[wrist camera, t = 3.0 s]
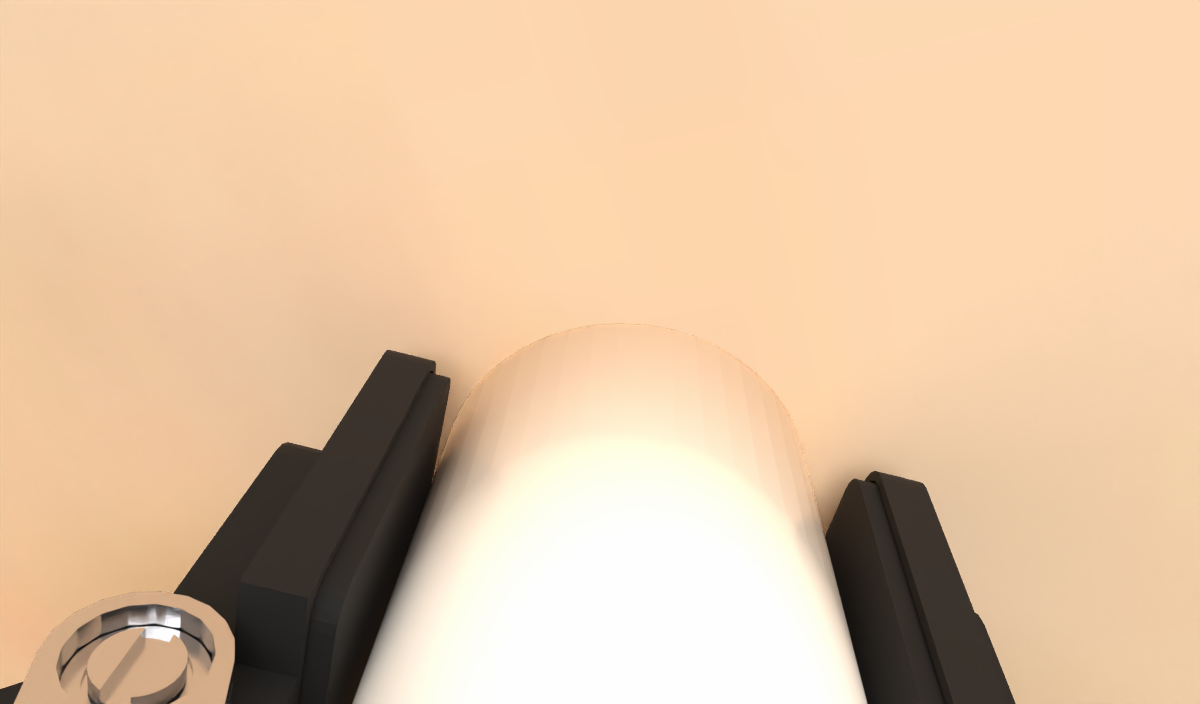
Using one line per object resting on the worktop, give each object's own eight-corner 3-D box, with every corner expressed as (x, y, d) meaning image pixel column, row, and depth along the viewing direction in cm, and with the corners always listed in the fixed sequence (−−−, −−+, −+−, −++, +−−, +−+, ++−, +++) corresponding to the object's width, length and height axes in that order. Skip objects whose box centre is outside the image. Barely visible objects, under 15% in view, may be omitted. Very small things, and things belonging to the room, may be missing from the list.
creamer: (858, 374, 11) (1094, 956, 5) (743, 652, 13) (816, 1302, 7) (362, 256, 10) (2, 735, 5) (322, 561, 12) (34, 1164, 7)
